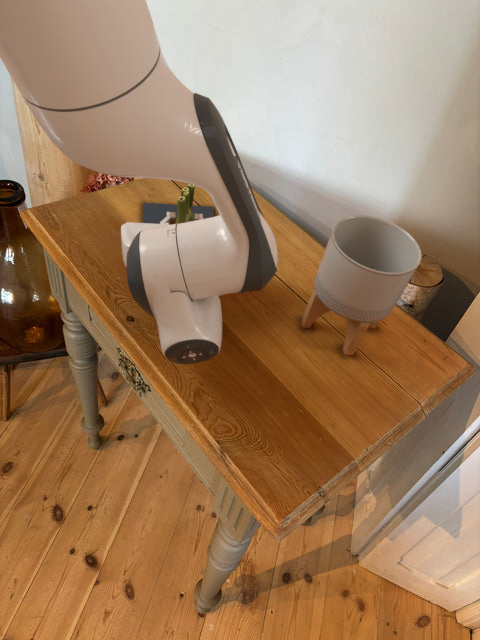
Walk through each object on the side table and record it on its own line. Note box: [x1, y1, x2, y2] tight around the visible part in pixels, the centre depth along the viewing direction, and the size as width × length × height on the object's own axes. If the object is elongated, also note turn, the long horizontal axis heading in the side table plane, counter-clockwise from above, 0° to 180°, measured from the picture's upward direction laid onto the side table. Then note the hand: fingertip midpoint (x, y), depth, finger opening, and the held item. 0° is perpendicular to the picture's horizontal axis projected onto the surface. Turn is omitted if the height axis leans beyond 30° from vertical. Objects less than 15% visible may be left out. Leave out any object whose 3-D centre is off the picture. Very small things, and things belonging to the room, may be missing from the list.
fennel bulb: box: [175, 183, 196, 224], centre depth 78 cm, size 6×5×12 cm
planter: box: [300, 214, 422, 356], centre depth 72 cm, size 13×13×18 cm
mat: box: [142, 202, 215, 224], centre depth 90 cm, size 14×13×1 cm
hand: (184, 216), depth 78 cm, fingers closed on fennel bulb, 3 cm apart
